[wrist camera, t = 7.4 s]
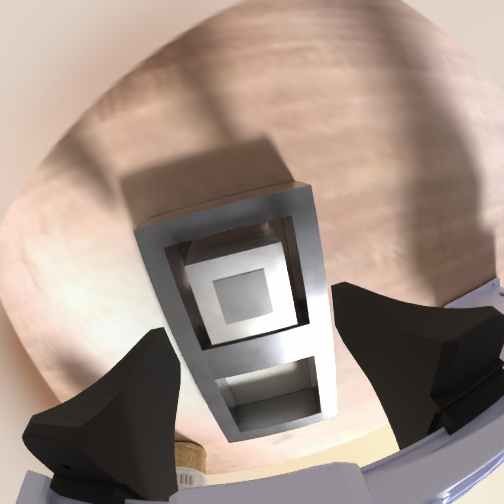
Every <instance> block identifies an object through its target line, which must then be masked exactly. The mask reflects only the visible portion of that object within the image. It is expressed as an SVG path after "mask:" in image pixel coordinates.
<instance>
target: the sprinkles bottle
mask: <svg viewBox="0 0 504 504" xmlns="http://www.w3.org/2000/svg"><path fill="white" fill-rule="evenodd" d="M205 459H206V451H205V450H204V449H203V448H202V447H200V446H198V445H195V444H193V443H188V442H175V464H176V475H177V483H178V490H181V489H184V488H191V487H197V486H206V485H207V480H206V479H207V478H206V465H205Z"/></svg>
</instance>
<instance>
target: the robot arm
mask: <svg viewBox="0 0 504 504" xmlns="http://www.w3.org/2000/svg"><path fill="white" fill-rule="evenodd" d="M331 289H332V298H333V308H334V319H335V326H336V328H337V330H338V332H339V334H340V336H341V338H342V340H343V342H344V344H345V345H346V347H347V348H348V350H349V351H350V353H351V354H352V356H353V357H354V359H355V360H356V362H357V363H358V364H359V366H360V367H361V369H362V370H363V372H364V373H365V375H366V376H367V378H368V379H369V381H370V383H371V384H372V386H373V388H374V390H375V392H376V394H377V396H378V398H379V400H380V402H381V405H382V407H383V409H384V411H385V413H386V416H387V418H388V420H389V423H390V425H391V428H392V430H393V432H394V435H395V437H396V440H397V443H398V446H399V449H400V451H399V452H396V453H394V454H392V455H390V456H388V457H386V458H383V459H381V460H379V461H376V462H374V463H371V464H369V465H366V466H364V467H361V468H360V467H359V466H358V465H357V464H355V463H347V462H333V463H329V464H324V465H319V466H313V467H310V468H306V469H302V470H299V471H295V472H290V473H286V474H281V475H277V476H272V477H267V478H262V479H256V480H250V481H243V482H235V483H227V484H218V485H206V486H197V487H191V488H184V489H181V490H178V483H177V475H176V464H175V441H174V431H175V420H176V412H177V405H178V398H179V390H180V383H181V368H180V361H179V359H178V357H177V355H176V353H175V351H174V349H173V347H172V344H171V342H170V340H169V338H168V336H167V333H166V331H165V329H164V327H162V328H157V329H152V330H150V331H149V332H148V333H146V334H145V335H144V336H143V337H142V338H141V339H140V341H139V342H138V343H137V344H136V345H135V346H134V347H133V348H132V349H131V350H130V351H129V352H128V353H127V354H126V355H125V356H124V357H123V358H122V359H121V360H120V361H119V362H118V363H117V364H116V365H115V366H114V367H113V368H112V369H111V370H110V371H109V372H108V373H107V374H105V375H104V376H103V377H102V378H101V379H99V380H98V381H97V382H95V383H94V384H93V385H91V386H90V387H88V388H87V389H85V390H84V391H82V392H81V393H79V394H78V395H76V396H75V397H73V398H71V399H69V400H68V401H66V402H64V403H62V404H60V405H58V406H56V407H54V408H51V409H49V410H46V411H44V412H41V413H38V414H36V415H33V416H32V418H31V419H30V421H29V423H28V425H27V427H26V429H25V431H24V433H23V435H22V439H23V442H24V444H25V446H26V447H27V449H28V450H29V451H30V452H31V453H32V454H33V455H34V456H35V457H36V458H37V459H38V460H40V461H41V462H42V463H43V464H44V465H45V466H46V467H47V468H49V469H50V470H51V471H52V472H53V473H54V475H53V478H50V477H48V476H46V475H43V474H39V473H36V472H33V471H30V470H28V471H27V473H26V475H25V478H24V481H23V484H22V486H21V489H20V492H19V495H18V498H17V501H16V504H451V503H453V502H454V501H456V500H457V499H458V498H460V497H461V496H463V495H464V494H466V493H467V492H468V491H470V490H471V489H472V488H474V487H475V486H476V485H477V484H479V483H480V482H481V481H482V480H484V479H485V478H486V477H487V476H488V475H490V474H491V473H492V472H493V471H494V470H495V469H497V467H499V466H500V465H501V464H502V463H503V462H504V289H503V288H502V287H500V278H498V277H496V278H495V279H493V280H491V281H489V282H488V283H486V284H484V285H483V286H481V287H479V288H477V289H475V290H474V291H472V292H470V293H468V294H466V295H464V296H462V297H460V298H459V299H457V300H455V301H453V302H451V303H449V304H447V305H445V306H444V308H439V307H429V306H422V305H417V304H412V303H407V302H403V301H399V300H396V299H392V298H389V297H386V296H383V295H380V294H377V293H374V292H372V291H369V290H366V289H364V288H361V287H359V286H356V285H353V284H350V283H347V282H341V283H338V284H335V285H331Z"/></svg>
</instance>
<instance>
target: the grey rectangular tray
mask: <svg viewBox="0 0 504 504" xmlns="http://www.w3.org/2000/svg"><path fill="white" fill-rule="evenodd" d="M278 218H282V221H283V226H284V231H285V236H286V241H287V246H288V251H289V256H290V262H291V267H292V272H293V278H294V283H295V289H296V294H297V301H293V304H294V309H295V315H296V320H297V324H294V325H291V326H287V327H283V328H280V329H276V330H272V331H268V332H264V333H260V334H256V335H252V336H248V337H244V338H240V339H236V340H231V341H227V342H223V343H218V344H213V345H212V343H211V340H210V338H209V335H208V332H207V330H206V327H205V324H204V323H203V321H202V318H201V315H200V313H199V310H198V307H197V304H196V301H195V299H194V296H193V293H192V290H191V287H190V284H189V281H188V278H187V275H186V273H185V270H184V266H183V263H182V260H181V257H180V254H179V251H178V248H177V245H176V244H180V243H183V242H187V241H191V240H195V239H198V238H202V237H206V236H210V235H214V234H218V233H221V232H225V231H229V230H233V229H237V228H241V227H245V226H249V225H253V224H257V223H261V222H265V221H269V220H273V219H278ZM134 234H135V237H136V240H137V243H138V246H139V249H140V252H141V255H142V258H143V261H144V263H145V266H146V269H147V272H148V274H149V277H150V280H151V282H152V285H153V288H154V290H155V293H156V295H157V298H158V300H159V303H160V305H161V308H162V310H163V313H164V315H165V317H166V320H167V322H168V324H169V327H170V329H171V331H172V333H173V336H174V338H175V340H176V342H177V345H178V347H179V349H180V351H181V353H182V355H183V358H184V360H185V362H186V364H187V366H188V368H189V370H190V372H191V374H192V376H193V378H194V380H195V382H196V384H197V386H198V388H199V390H200V392H201V394H202V396H203V398H204V399H205V401H206V403H207V405H208V407H209V409H210V411H211V412H212V414H213V416H214V418H215V420H216V421H217V423H218V425H219V427H220V428H221V430H222V432H223V433H224V435H225V437H226V439H227V440H228V442H229V443H232V442H238V441H244V440H249V439H254V438H259V437H264V436H268V435H273V434H277V433H281V432H285V431H289V430H293V429H296V428H300V427H304V426H307V425H310V424H314V423H317V422H320V421H323V420H326V419H330V418H333V417H335V416H337V404H336V383H335V367H334V353H333V341H332V330H331V319H330V310H329V301H328V292H327V284H326V276H325V268H324V261H323V254H322V247H321V240H320V234H319V228H318V221H317V215H316V210H315V204H314V198H313V193H312V187H311V185H309V184H306V183H302V182H298V181H291V182H287V183H282V184H277V185H273V186H269V187H264V188H260V189H256V190H251V191H247V192H243V193H239V194H235V195H231V196H227V197H223V198H219V199H215V200H211V201H208V202H204V203H200V204H196V205H193V206H189V207H186V208H182V209H178V210H175V211H171V212H168V213H164V214H161V215H158V216H154V217H151V218H148V219H146V220H145V221H144V222H143V223H142V224H141V225H139V226H138V227H137V228H136V229H135V230H134ZM306 357H307V361H308V367H309V374H310V380H311V387H312V388H309V389H305V390H302V391H298V392H295V393H291V394H288V395H284V396H280V397H276V398H272V399H268V400H264V401H260V402H255V403H251V404H246V405H241V406H237V405H236V402H235V400H234V398H233V395H232V393H231V391H230V389H229V386H228V384H227V381H226V379H225V378H226V377H231V376H236V375H240V374H245V373H249V372H253V371H257V370H262V369H266V368H270V367H273V366H277V365H281V364H285V363H288V362H292V361H295V360H299V359H302V358H306Z"/></svg>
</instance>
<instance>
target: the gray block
mask: <svg viewBox="0 0 504 504" xmlns="http://www.w3.org/2000/svg"><path fill="white" fill-rule="evenodd" d="M184 267H185V270H186V273H187V276H188V279H189V282H190V285H191V288H192V291H193V294H194V297H195V299H196V302H197V305H198V308H199V311H200V313H201V316H202V319H203V322H204V324H205V327H206V330H207V332H208V335H209V338H210V340H211V343H212V345H213V344H218V343H223V342H227V341H231V340H236V339H240V338H244V337H248V336H252V335H256V334H260V333H264V332H268V331H272V330H276V329H280V328H283V327H287V326H291V325H294V324H297V320H296V315H295V309H294V304H293V298H292V293H291V287H290V282H289V277H288V272H287V267H286V261H285V256H284V251H283V246H282V242H281V240H280V239H279V238H278V236H277V235H276V234H275V232H274V231H273V230H272V228H271V227H270V226H269V224H268V223H267V222H266V221H265V222H261V223H257V224H253V225H249V226H245V227H241V228H237V229H233V230H229V231H225V232H221V233H218V234H214V235H210V236H206V237H202V238H198V239H195V240H192V243H191V246H190V250H189V253H188V256H187V259H186V262H185V266H184Z"/></svg>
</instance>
